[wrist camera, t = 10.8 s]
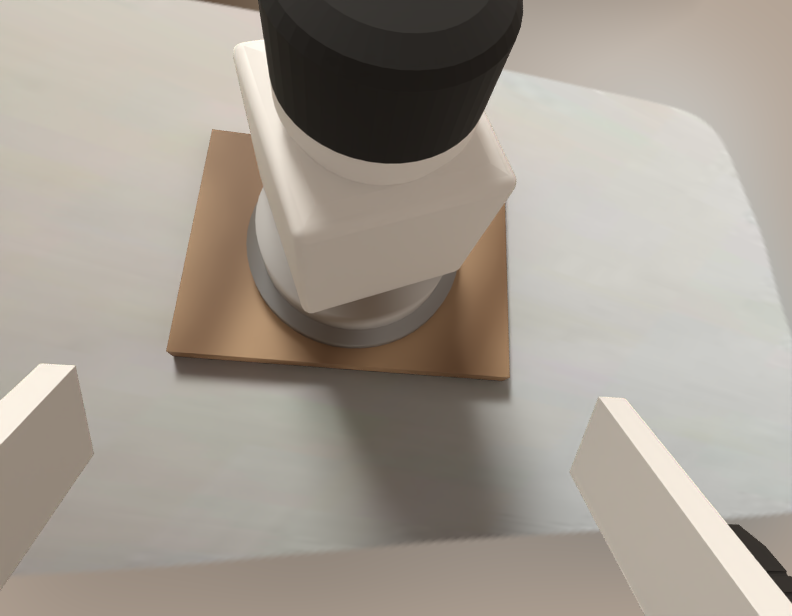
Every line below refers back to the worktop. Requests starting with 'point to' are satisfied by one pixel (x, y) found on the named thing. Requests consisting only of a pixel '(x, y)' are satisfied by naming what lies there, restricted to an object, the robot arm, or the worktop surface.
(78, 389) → the robot arm
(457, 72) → the medicine bottle
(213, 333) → the stub board
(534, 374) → the worktop surface
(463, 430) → the worktop surface
